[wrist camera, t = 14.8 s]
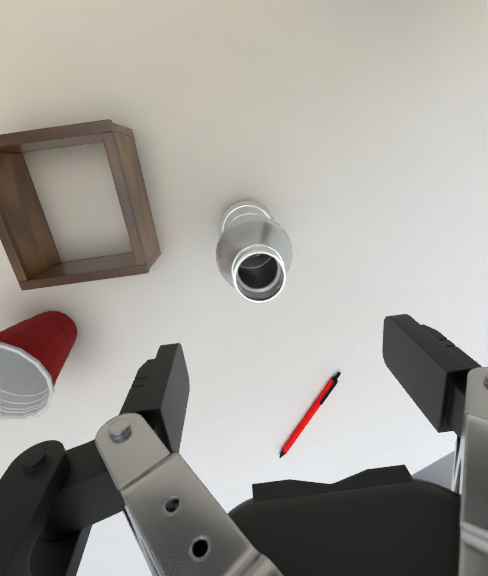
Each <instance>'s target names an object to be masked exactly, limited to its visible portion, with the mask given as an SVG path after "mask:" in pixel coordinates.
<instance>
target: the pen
mask: <svg viewBox="0 0 488 576" xmlns="http://www.w3.org/2000/svg"><path fill="white" fill-rule="evenodd" d="M340 374H341V373H340V372H338V374H337V375H336V376H335V378H334V377H333V378H332V379H331V381H330V382H329V383H328V385H327V386H326V388H325V389H324V390H323V392H322V393H321V395H320V396H319V398H318V399H317V400H316V402H315V403H314V405H313V406H312V408H311V409H310V410H309V412H308V413H307V415H306V416H305V418H304V419H303V420H302V422H301V423H300V425H299V426H298V428H297V429H296V430H295V432H294V433H293V435H292V436H291V437H290V439H289V440H288V442H287V443H286V445H285V446H284V447H283V449H282V451H281V454H280V457H279V458H281V457H282V456H283V455H284V454H286V453H287V452H288V450H289V449H290V447H291V446H292V445H293V443H294V442H295V440H296V439H297V438H298V436H299V435H300V433H301V432H302V431H303V429H304V428H305V426H306V425H307V424H308V422H309V421H310V419H311V418H312V417H313V415H314V414H315V412H316V411H317V409H318V408H319V407H320V405H322V404H323V402H324V401H325V399H326V398H327V397H328V395H329V394H330V392H331V391H332V390H333V388H334V387H335V385H336V384H337V381H338V380H337V378H338V377H339V376H340Z"/></svg>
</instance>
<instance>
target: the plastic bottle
mask: <svg viewBox="0 0 488 576" xmlns="http://www.w3.org/2000/svg"><path fill="white" fill-rule="evenodd" d="M220 235H221V236H220V238H219V241H218V244H217V249H216V261H217V265H218V268H219V271H220V273H221V275H222V276H223V277H224V279H225V280H226V281H227V282H228V283H229V284H230V285H231V286H233V287H234V288H236V289H237V291H238V292H239V294H240V295H241V296H242V297H244V298H245V299H247V300H249V301H251V302H256V303H262V302H267V301H270V300H272V299H273V298H275V297H276V296H277V295H278V294H279V293H280V292H281V291H282V289H283V287H284V285H285V280H286V274H287V272H288V270H289V268H290V264H291V260H292V247H291V243H290V240H289V237H288V235H287V234H286V232H285V230H284V229H283V228H282V227H281V226H280V225H279V224H277V223H276V222H275V221H273V219H272V217H271V215H270V213H269V211H268V210H267V209H266V208H265V207H264V206H262V205H261V204H259V203H257V202H254V201H240V202H237V203H235V204H233V205H232V206H230V207H229V208H228V209H227V210H226V211H225V213H224V215H223V216H222V219H221V223H220Z"/></svg>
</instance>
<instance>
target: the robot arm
mask: <svg viewBox="0 0 488 576" xmlns="http://www.w3.org/2000/svg"><path fill="white" fill-rule="evenodd" d="M383 358H384V361H385V364H386V366H387V367H388V368H389V370H390V371H391V372H392V374H393V375H394V376H395V378H396V379H397V380H398V381H399V383H400V384H401V385H402V387H403V388H404V389H405V390H406V392H407V393H408V394H409V396H410V397H411V398H412V399H413V401H414V402H415V403H416V405H417V406H418V407H419V408H420V410H421V411H422V412H423V414H424V415H425V416H426V417H427V419H428V420H429V421H430V423H431V424H432V425H433V426H434V428H435V429H436V430H437V432H438V433H441V432H448V431H454V432H455V433H456V434H457V439H456V445H455V456H454V467H453V478H452V488H451V490H450V489H448V488H445V487H443V486H441V485H438V484H435V483H432V482H429V481H425V480H421V479H415V478H412V476H411V475H410V473H409V471H408V469H407V468H406V466H405V465H398V466H390V467H383V468H375V469H367V470H365V471H362V472H360V473H358V474H355V475H353V476H350V477H348V478H346V479H343V480H341V481H338V482H336V483H333V484H324V483H315V482H307V481H298V480H290V479H289V480H282V481H274V482H266V483H258V484H252V489H253V498H251V499H249V500H246V501H245V502H243V503H241V504H239V505H238V506H236V507H235V508H234V509H232V510H231V511H230V512H229V513H228V514H227V513H226V512H225V511H224V509H223V508H222V507H221V506H220V504H219V503H218V502H217V500H216V499H215V498H214V497H213V495H212V494H211V493H210V492H209V490H208V489H207V488H206V487H205V485H204V484H203V483H202V482H201V480H200V479H199V478H198V477H197V475H196V474H195V473H194V472H193V470H192V469H191V468H190V467H189V465H188V464H187V463H186V462H185V460H184V459H183V458H182V457H181V455H180V454H179V448H180V442H181V437H182V431H183V425H184V419H185V413H186V408H187V402H188V396H189V376H188V371H187V367H186V363H185V358H184V354H183V350H182V346H181V344H180V343H176V344H168V345H161V346H160V347H159V350H158V353H157V355H156V358H155V359H151V360H147V361H146V362H145V363H144V364H143V365H142V366H141V367H140V368H139V370H138V372H137V375H136V377H135V380H134V381H133V384H132V386H131V388H130V391H129V393H128V395H127V397H126V400H125V402H124V404H123V407H122V409H121V411H120V414H119V415H118V416H116V417H114V418H112V419H111V420H109V421H108V422H106V423H105V424H104V425H103V426H102V427H101V428H100V429H99V431H98V432H97V434H96V437H95V440H93V441H90V442H88V443H85V444H82V445H80V446H77V447H74V448H72V449H69V450H66V451H65V448H64V446H63V444H62V443H61V442H59V441H56V440H50V441H45V442H41V443H38V444H36V445H34V446H32V447H30V448H29V449H27V450H25V451H24V452H23V453H21V454H20V455H19V456H18V457H17V458H16V459H15V460H14V461H13V462H12V463H11V464H10V466H9V467H8V469H7V470H6V472H5V473H4V475H3V476H2V478H1V479H0V576H76V574H77V571H78V568H79V564H80V561H81V558H82V555H83V552H84V549H85V546H86V543H87V540H88V537H89V534H90V530H91V527H92V524H95V523H97V522H99V521H101V520H103V519H106V518H108V517H110V516H112V515H114V514H117V513H119V512H121V511H123V513H124V515H125V517H126V519H127V522H128V524H129V526H130V528H131V530H132V532H133V534H134V536H135V539H136V541H137V543H138V545H139V547H140V549H141V551H142V553H143V556H144V558H145V560H146V562H147V564H148V566H149V569H150V571H151V573H152V576H488V367H482V366H481V365H479V364H478V363H477V362H476V361H474V360H473V359H472V358H471V357H469V356H468V355H467V354H466V353H464V352H463V351H462V350H461V349H459V348H458V347H455V345H454V344H453V343H452V342H451V341H450V340H447V338H446V337H445V336H443V335H442V334H441V333H440V332H438V331H437V330H435V329H432V328H430V327H428V326H426V325H420V324H419V323H418V322H416V321H415V320H414V319H413V318H412V317H411V316H409V315H408V314H401V315H394V316H387V317H385V319H384V330H383Z"/></svg>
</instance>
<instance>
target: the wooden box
mask: <svg viewBox="0 0 488 576" xmlns="http://www.w3.org/2000/svg"><path fill="white" fill-rule="evenodd" d="M103 141H104V145H105V148H106V152H107V156H108V160H109V163H110V167H111V171H112V175H113V178H114V182H115V186H116V190H117V193H118V197H119V201H120V205H121V208H122V212H123V216H124V220H125V223H126V227H127V231H128V235H129V238H130V242H131V246H132V250H133V252H131V253H124V254H117V255H110V256H102V257H95V258H88V259H81V260H73V261H66V262H61V261H60V258H59V255H58V252H57V250H56V247H55V244H54V241H53V238H52V236H51V233H50V230H49V227H48V224H47V222H46V219H45V216H44V213H43V210H42V208H41V205H40V202H39V199H38V196H37V194H36V191H35V188H34V185H33V183H32V180H31V177H30V174H29V171H28V169H27V166H26V163H25V160H24V157H23V155H22V153H25V152H32V151H39V150H46V149H53V148H61V147H68V146H75V145H82V144H89V143H96V142H103ZM0 239H1V242H2V244H3V247H4V249H5V251H6V254H7V256H8V258H9V261H10V263H11V266H12V268H13V270H14V273H15V275H16V278H17V280H18V282H19V285H20V287H21V289H22V290H28V289H36V288H43V287H50V286H57V285H65V284H72V283H79V282H86V281H94V280H101V279H108V278H115V277H123V276H130V275H137V274H144V273H148V272H149V269H150V267H151V266H152V265H153V264H154V262H155V261H156V260H157V258H158V257H159V256H160V255H161V253H160V249H159V244H158V240H157V236H156V231H155V227H154V223H153V219H152V214H151V210H150V206H149V202H148V197H147V193H146V189H145V185H144V180H143V176H142V172H141V167H140V163H139V159H138V155H137V150H136V146H135V142H134V138H133V133H132V130H131V129H129V128H126V127H123V126H121V125H118V124H115V123H112V121H111V120H109V119H108V120H101V121H93V122H86V123H79V124H72V125H65V126H58V127H51V128H44V129H37V130H30V131H23V132H16V133H9V134H2V135H0Z"/></svg>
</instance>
